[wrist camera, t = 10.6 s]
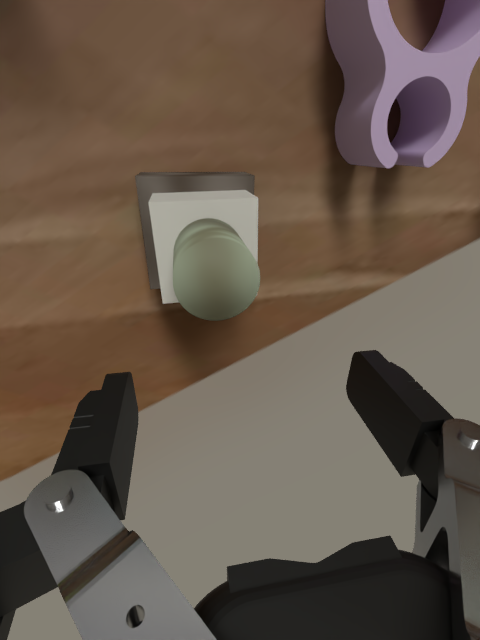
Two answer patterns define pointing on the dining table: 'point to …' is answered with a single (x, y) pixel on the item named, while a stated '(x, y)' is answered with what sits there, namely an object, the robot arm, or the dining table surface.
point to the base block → (180, 183)
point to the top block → (187, 207)
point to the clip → (401, 82)
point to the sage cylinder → (213, 270)
